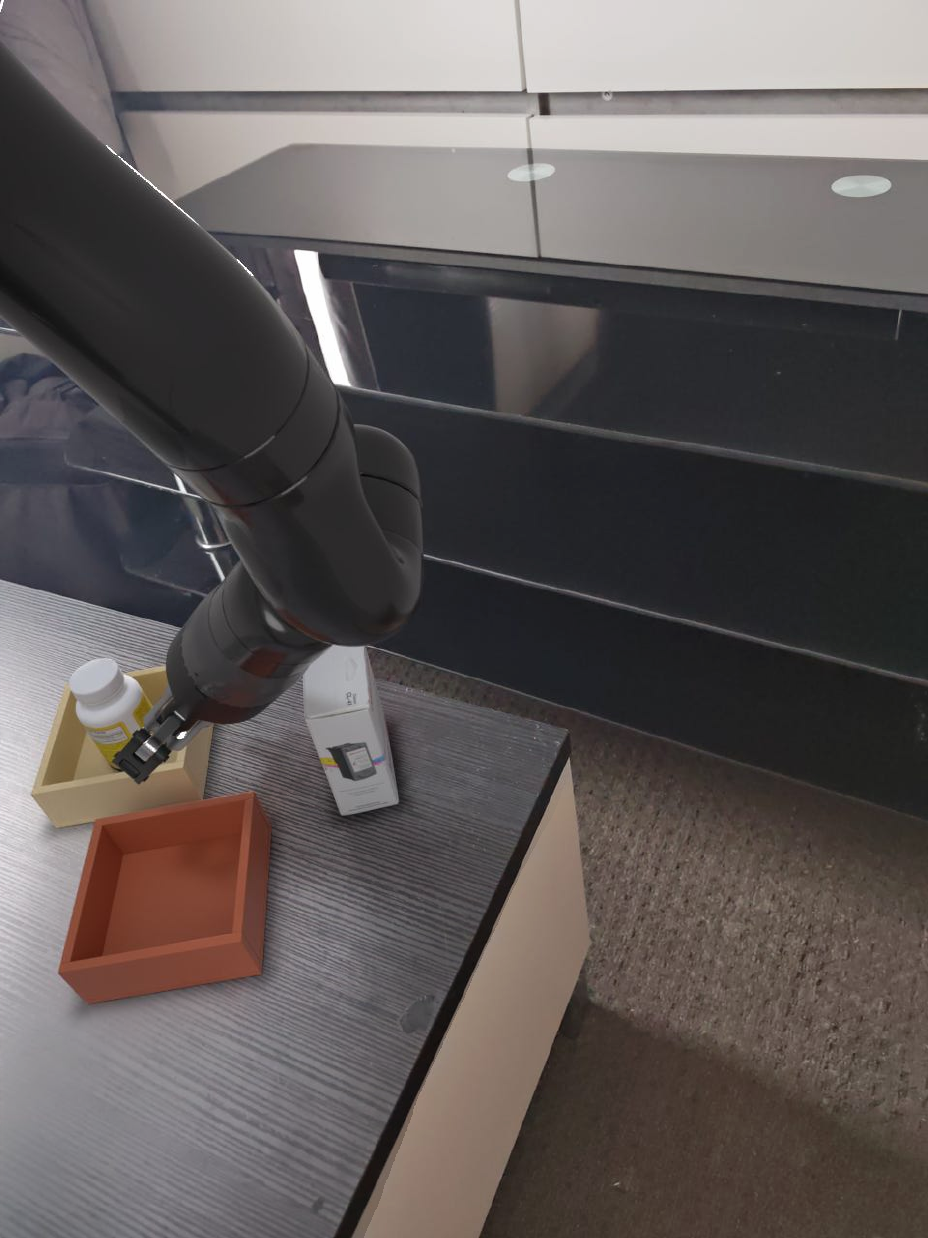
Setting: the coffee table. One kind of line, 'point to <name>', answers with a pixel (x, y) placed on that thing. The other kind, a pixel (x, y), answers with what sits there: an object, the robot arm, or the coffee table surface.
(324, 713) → the ink box
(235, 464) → the robot arm
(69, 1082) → the coffee table surface
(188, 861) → the terracotta bin
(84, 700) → the supplement bottle
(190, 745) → the cream bin
